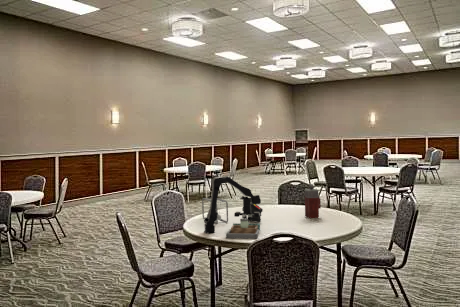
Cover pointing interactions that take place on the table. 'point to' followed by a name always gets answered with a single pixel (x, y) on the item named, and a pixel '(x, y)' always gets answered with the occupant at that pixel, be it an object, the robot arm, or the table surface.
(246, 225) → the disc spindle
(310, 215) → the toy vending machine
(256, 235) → the grey shallow box
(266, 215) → the table surface
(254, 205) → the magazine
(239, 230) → the tray
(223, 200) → the newton's cradle
